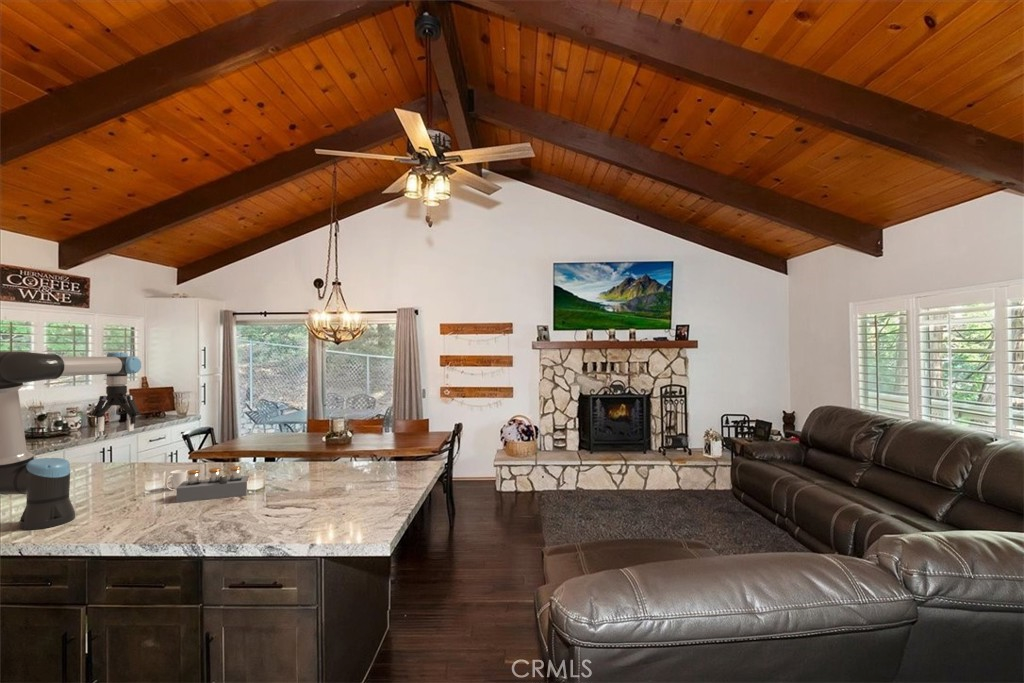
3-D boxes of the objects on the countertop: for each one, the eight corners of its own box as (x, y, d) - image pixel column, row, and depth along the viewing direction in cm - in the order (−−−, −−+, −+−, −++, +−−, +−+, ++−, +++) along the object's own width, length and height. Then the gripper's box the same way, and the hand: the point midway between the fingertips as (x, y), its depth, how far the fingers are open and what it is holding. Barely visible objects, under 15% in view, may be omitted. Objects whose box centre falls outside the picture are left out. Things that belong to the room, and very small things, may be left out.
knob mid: (218, 485, 213) (218, 470, 213) (206, 485, 212) (207, 470, 212) (222, 482, 217) (222, 467, 217) (210, 482, 216) (211, 468, 216)
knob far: (239, 483, 216) (239, 468, 216) (227, 483, 215) (228, 468, 215) (242, 480, 220) (242, 465, 221) (231, 481, 219) (231, 466, 220)
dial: (225, 483, 211) (225, 476, 211) (218, 484, 210) (218, 477, 210) (228, 482, 214) (228, 475, 214) (221, 482, 213) (221, 475, 213)
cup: (191, 487, 228) (191, 469, 228) (172, 493, 218) (172, 475, 218) (178, 486, 229) (179, 469, 229) (159, 492, 219) (159, 474, 219)
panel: (249, 488, 225) (249, 475, 225) (246, 495, 214) (246, 481, 214) (183, 494, 215) (183, 481, 215) (176, 502, 204) (176, 488, 204)
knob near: (197, 487, 210) (197, 471, 210) (185, 487, 209) (185, 472, 209) (201, 484, 214) (201, 469, 214) (189, 484, 213) (190, 469, 213)
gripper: (149, 384, 229) (148, 429, 228) (96, 384, 228) (95, 429, 228) (137, 385, 221) (136, 432, 221) (82, 385, 221) (81, 432, 220)
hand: (115, 431), depth 224 cm, fingers open, 13 cm apart
